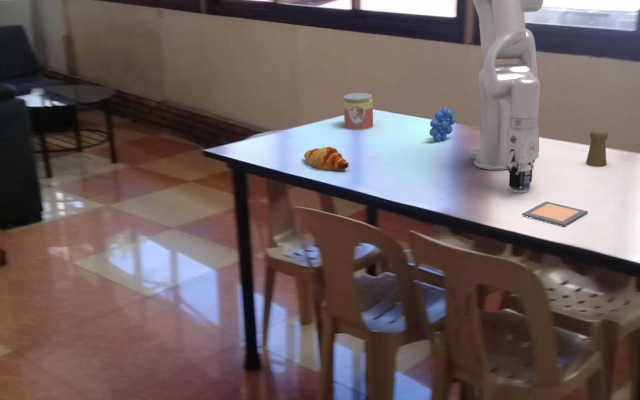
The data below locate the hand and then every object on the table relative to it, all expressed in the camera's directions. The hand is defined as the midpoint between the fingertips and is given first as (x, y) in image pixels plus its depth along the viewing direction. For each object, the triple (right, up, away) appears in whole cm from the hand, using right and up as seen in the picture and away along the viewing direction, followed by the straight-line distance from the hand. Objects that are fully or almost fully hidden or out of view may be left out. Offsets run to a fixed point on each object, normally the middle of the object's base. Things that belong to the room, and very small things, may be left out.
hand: (520, 183), depth 211 cm
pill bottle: (0, -2, +1) cm, 2 cm away
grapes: (-14, +17, +54) cm, 58 cm away
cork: (+29, +6, +21) cm, 36 cm away
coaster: (+4, -9, -18) cm, 20 cm away
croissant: (-55, +6, +31) cm, 64 cm away
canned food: (-42, +24, +77) cm, 91 cm away
